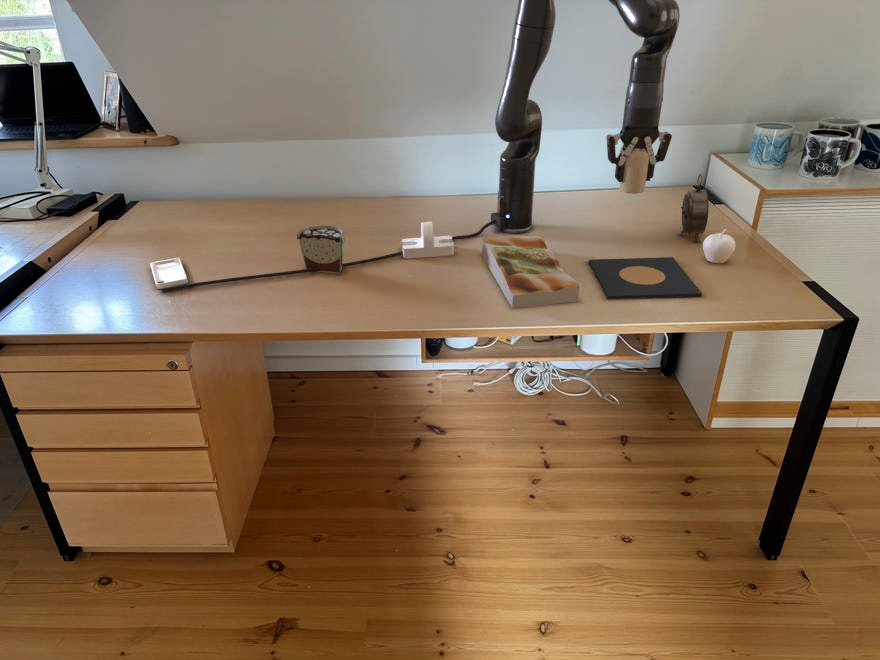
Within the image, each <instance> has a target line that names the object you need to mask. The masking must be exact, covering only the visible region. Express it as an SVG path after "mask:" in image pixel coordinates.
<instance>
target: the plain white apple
mask: <svg viewBox="0 0 880 660" xmlns="http://www.w3.org/2000/svg"><path fill="white" fill-rule="evenodd" d="M726 231H727V229H726V228H724V229H723V231H721V232H718V233H711V234H710V235H708V236H707V237H706V238H705V239H704V240H703V242H702V249H703V254H704V256H705V259H706V261H708V262H710V263H712V264H723V263H725V262H727V261H728V260H729V258H731V256H732V255H733V254H734V252H735V249H736V241H735V239H734V237H732V236H731V235H729V234H725V232H726Z"/></svg>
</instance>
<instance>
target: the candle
mask: <svg viewBox="0 0 880 660" xmlns="http://www.w3.org/2000/svg"><path fill="white" fill-rule="evenodd" d="M648 163H649V154H648V152H647V150H646V149H644V148H642V149H639V148H635V149H633V150H632V152H631V153H630V155H629V157H627V159H626V161H625V163H624V164H623V165H624V173H623V181H622V182H619V191H620V192H621V193H624V194H630V195H637V194H642V193H644V192H645V190H646V184H647V181H646V178H647V171H648Z"/></svg>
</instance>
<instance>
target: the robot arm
mask: <svg viewBox="0 0 880 660" xmlns="http://www.w3.org/2000/svg"><path fill="white" fill-rule="evenodd" d="M607 1H608V2H609V3H610V4H612V5H613V6H614V7H615V8H616V10H617V11H618V14H619V16H620V17H621V19H622V21H623V23H624V24H625V26H626V27H627V29H628V30H629V31H630V32H631V33H632V34H634V35H635V36H637V37H640V38H641V39H642V38H643V41H642V44H641V46H640V48H639V49H638V50H636V51H635V52H634V53H633V54H632V57H631V61H630V71H629V78H628V84H627V88H626V93H625V100H624V101H625V102H624V109H623V118H622V127H621V130H620V132H619V133H616V134H607V135H606V150H607V160H608V161H609V162H610V163H611V164H612V165H613V164H614V165H615V170H614V178H615V179H616V181H617V182H618V183H620V182H622V181H623V173H624V165H623V164H624V163H625V161H626V159H627V157H629V155H630V153H631V152H632V150H633V149H635V148H639V149H642V148H644V149H646V150H647V152H648V154H649V163H648V171H647V178H646V182H650V181H651V179H653V177H654V173H655V166H656V165H657V163H660V162H664V161H665V160H666V157H667V153H668V151H669V147H670V144H671V141H672V139H673V135H672V134H671V133H670V132H668V131H664V132H662V131H660V130H659V126H660V120H661V114H662V113H661V112H662V107H663V106H662V105H663V102H664V90H665V87H664V86H665V77H666V71H667V61H668V56H669V54H670V52H671V49H672V47H673V45H674V40H675V38H676V35H677V32H678V30H679V29H678V28H679V25H680V17H681V16H680V14H681V11H680V7H679V4H678V2H677V0H607ZM515 13H516V14H515V19H514V25H513V30H512V36H511V43H510V50H509V56H508V61H507V65H506V66H507V67H506V73H505V77H504V83H503V87H502V91H501V95H500V98H499V102H498V105H497V108H496V113H495V119H494V120H495V121H494V124H495V131H496V134H497V136H498V137H499V139H501V140H502V141H503V142H505V143H508V144H507V146H506V148H505V149H504V150H503V152H501V154H500V156H499V172H498V173H499V175H498V176H499V177H498V178H499V179H498V191H497V207H496V208H497V209H496V211H495V212H491V213H490V221H489V222H487V223H486V224H484V225H483V226H482V227H481V228H480V229H479V230H478V231H477V232H474V233H471V234H465V235H454V236H451V237H452V241H455V240H461V239H469V238H474V237H477V236H479V235H480V234H482V233H483V232H484V231H485V229H487V228H488V227H491V226H492V225H493V226H494V227H496V228H497V229H498V230H497V231H498V232H499V233H507V234H523V233H527V232H529V231H531V230H532V228H533V211H534V210H533V208H534V191H535V175H536V162H537V161H536V160H537V158H538V156H539V153H540V147H541V138H542V130H543V129H542V128H543V115H542V110H541V107H540V106H539V104H538V103H537V102H536V101H535V100H533V99H529V97H530V92H531V88H532V85H533V83H534V80H535V78H536V76H537V75H538V73H539V71H540V69H541V68H542V66H543V64H544V62H545V60H546V58H547V55H548V54H549V51H550V49H551V45H552V42H553V41H552V40H553V35H554V31H555V25H556V18H557V17H556V16H557V15H556V13H557V12H556V6H555V0H518V2H517V8H516V12H515ZM619 140H620V141H621V142H622V146H621V148H620V150H619V153H618V155H617V154H616V145H618V142H619ZM657 140H658V142H659V144H658V148H657V152H656V153H655V151H654V147H653V144H655V142H656V141H657ZM398 256H403V251H397V252H394V253H389V254H386V255H381V256H376V257H371V258H366V259H362V260H355V261H351V262H344V263H342V268H345V267H350V266H357V265H363V264H366V263H367V264H368V263H371V262H376V261H380V260H381V261H382V260H386V259H390V258H394V257H398ZM317 271H320V268H310V269H306V268H303V269H296V270H287V271H278V272H271V273H270V272H269V273H262V274H254V275H246V276H237V277H229V278H222V279H221V278H220V279H214V280H205V281H200V282H192V283H186V284H181V285H176V286H171V287H166V288H162V289H161V292H162V293H165V292H170V291H176V290H182V289H187V288H194V287H200V286H207V285H214V284H216V285H217V284H222V283H223V284H224V283H230V282H238V281H246V280H254V279H265V278H272V277H281V276H289V275H296V274H304V273H312V272H317Z"/></svg>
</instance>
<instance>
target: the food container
mask: <svg viewBox="0 0 880 660" xmlns="http://www.w3.org/2000/svg"><path fill="white" fill-rule="evenodd" d="M296 240H298V241H299V245H300V250H301V254H302V259H303V262H304V263H303V264H304V267H305V269H310V268H320V271H316V272H317V273H329V274H337V275H341V274H342V273H343V267H342V264H343V245H344V244H345V243H346V237H345V235H344V232H343V230H342V229H341V228H339V227H337V226H334V225H326V224H325V225H323V224H322V225H312V226H307V227H304V228H302V229H300V230H298V231H297V234H296Z"/></svg>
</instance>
